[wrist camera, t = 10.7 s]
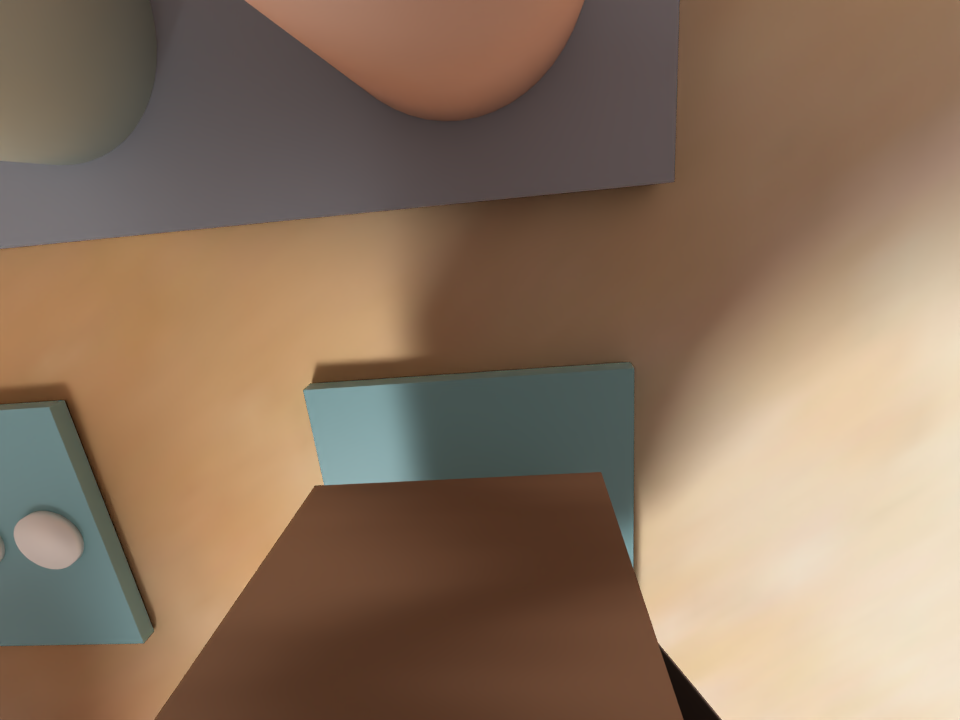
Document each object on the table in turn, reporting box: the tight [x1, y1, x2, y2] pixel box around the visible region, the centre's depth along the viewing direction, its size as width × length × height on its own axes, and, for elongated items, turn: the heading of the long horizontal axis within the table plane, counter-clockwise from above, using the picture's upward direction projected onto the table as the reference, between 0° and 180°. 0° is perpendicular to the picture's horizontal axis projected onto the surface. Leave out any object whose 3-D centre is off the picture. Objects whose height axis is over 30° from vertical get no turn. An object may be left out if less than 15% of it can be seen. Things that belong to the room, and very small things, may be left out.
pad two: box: [303, 362, 634, 566], centre depth 11 cm, size 7×7×1 cm
